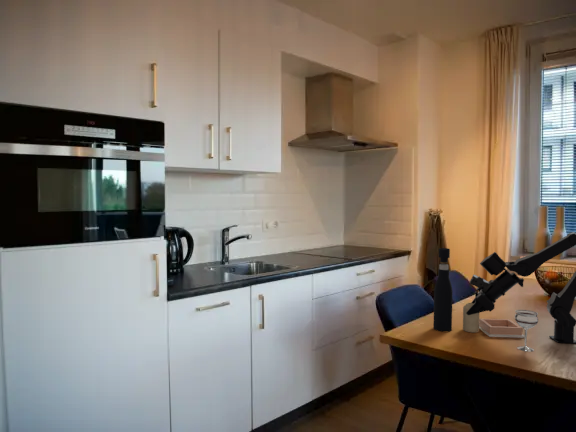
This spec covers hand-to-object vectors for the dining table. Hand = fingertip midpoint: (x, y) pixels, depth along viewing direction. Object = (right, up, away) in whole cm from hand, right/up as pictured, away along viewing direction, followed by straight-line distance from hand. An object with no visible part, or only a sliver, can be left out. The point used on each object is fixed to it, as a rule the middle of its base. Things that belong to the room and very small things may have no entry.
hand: (467, 312), depth 163 cm
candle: (+1, -7, 0) cm, 7 cm away
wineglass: (+11, -8, -20) cm, 24 cm away
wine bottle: (-9, -7, +1) cm, 11 cm away
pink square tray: (+11, -7, -2) cm, 13 cm away
